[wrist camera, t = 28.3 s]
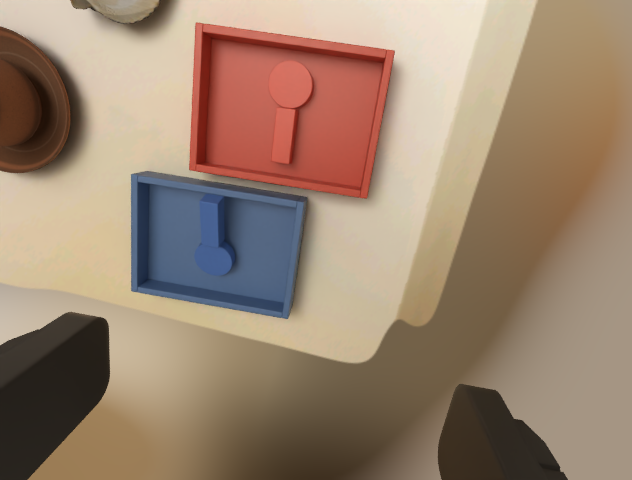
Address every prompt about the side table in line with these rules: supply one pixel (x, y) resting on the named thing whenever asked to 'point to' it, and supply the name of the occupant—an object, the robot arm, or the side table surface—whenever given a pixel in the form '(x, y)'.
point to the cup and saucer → (29, 106)
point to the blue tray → (240, 233)
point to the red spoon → (288, 105)
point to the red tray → (260, 109)
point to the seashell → (120, 8)
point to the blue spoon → (213, 238)
